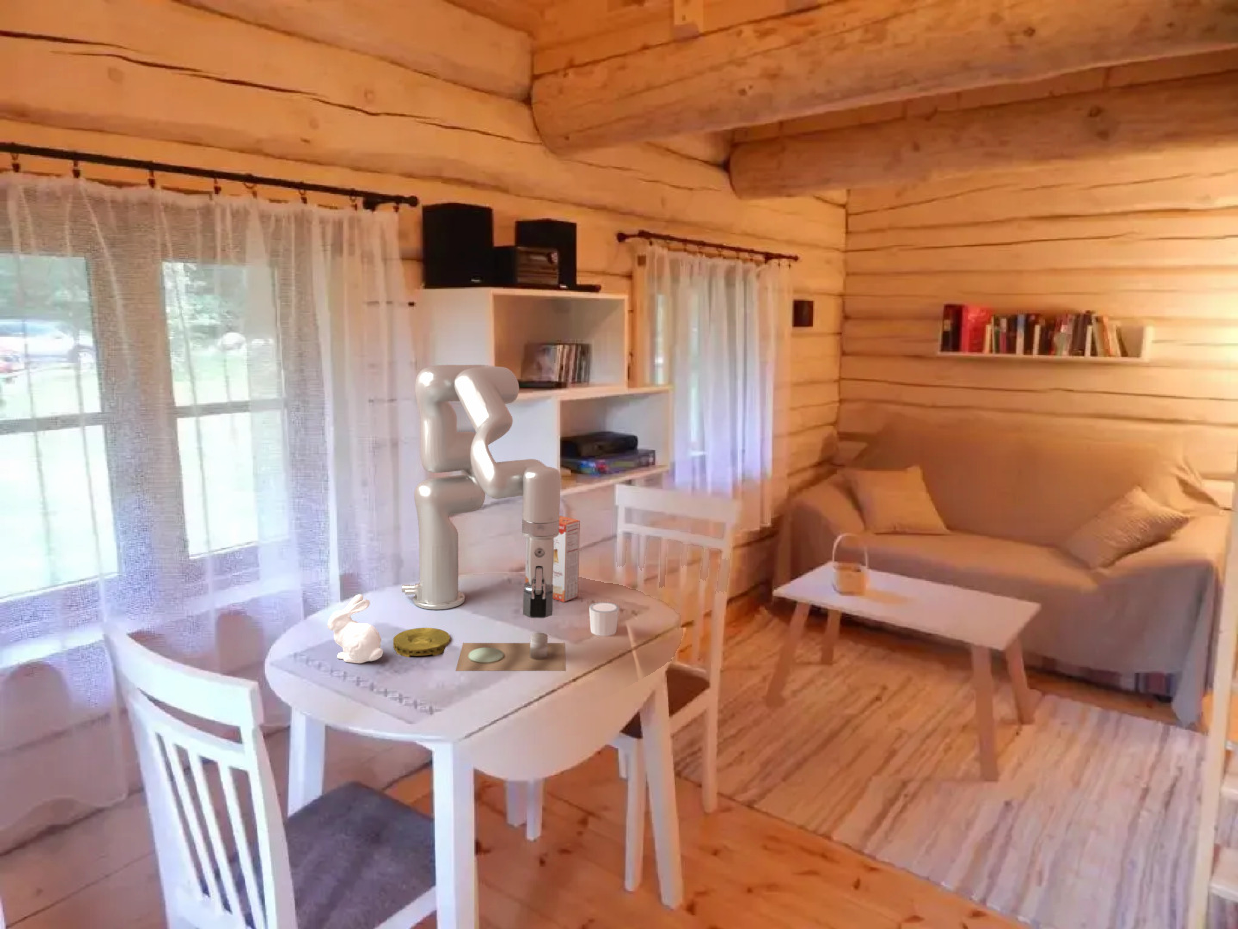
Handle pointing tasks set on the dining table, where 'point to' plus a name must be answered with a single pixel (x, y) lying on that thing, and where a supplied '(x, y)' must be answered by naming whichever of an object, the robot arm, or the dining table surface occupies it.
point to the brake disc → (421, 642)
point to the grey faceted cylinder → (548, 596)
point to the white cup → (603, 618)
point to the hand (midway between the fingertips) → (538, 609)
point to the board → (513, 656)
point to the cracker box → (564, 560)
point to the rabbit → (355, 634)
